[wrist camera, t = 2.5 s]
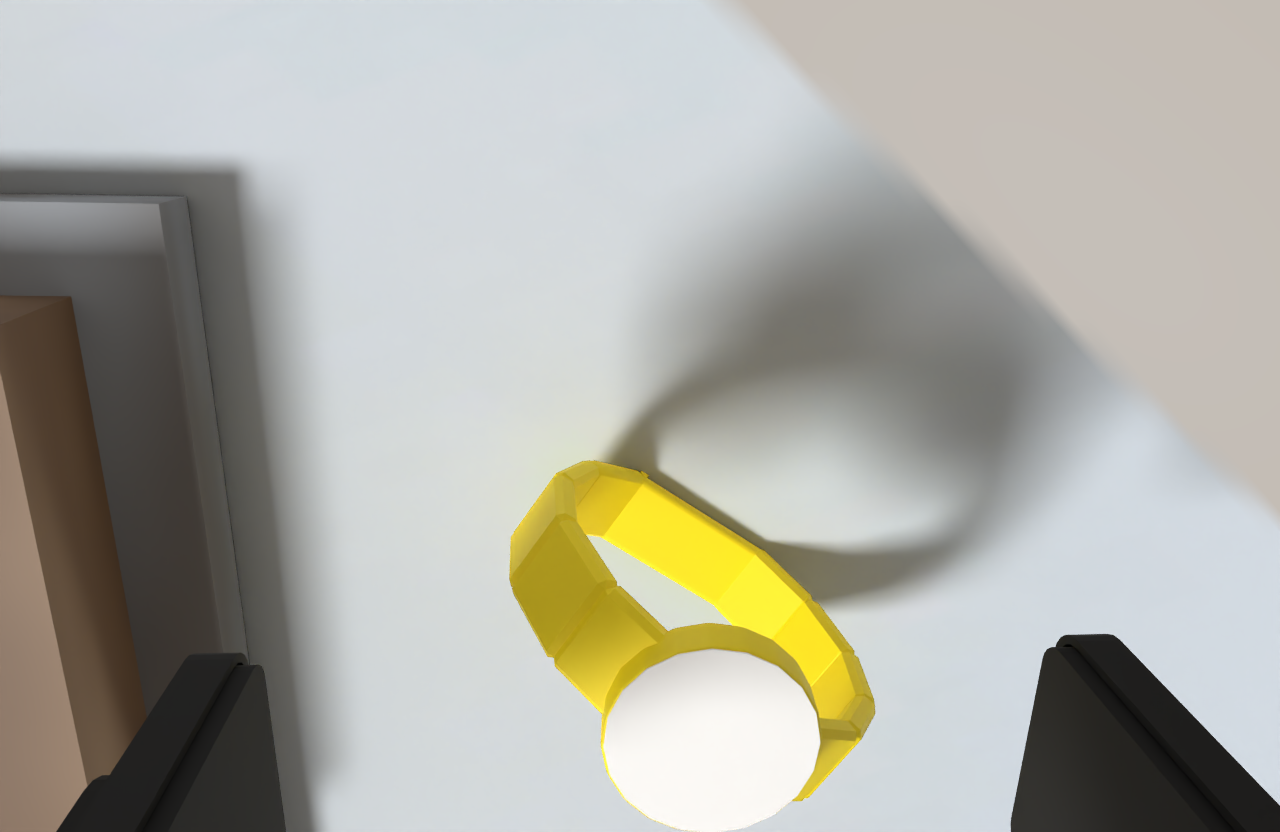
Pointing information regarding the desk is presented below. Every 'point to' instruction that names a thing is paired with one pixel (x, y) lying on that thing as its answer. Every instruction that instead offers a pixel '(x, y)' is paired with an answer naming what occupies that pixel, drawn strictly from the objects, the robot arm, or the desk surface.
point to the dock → (101, 488)
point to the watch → (688, 654)
